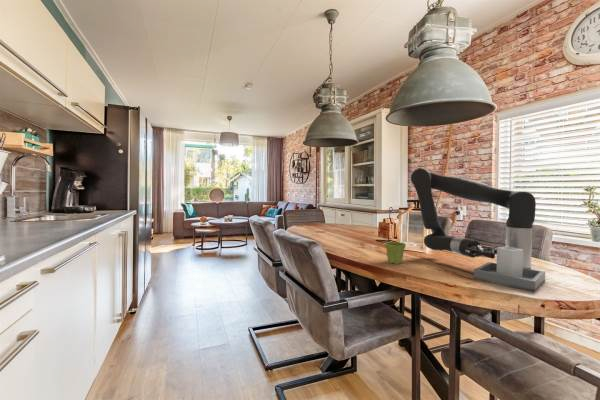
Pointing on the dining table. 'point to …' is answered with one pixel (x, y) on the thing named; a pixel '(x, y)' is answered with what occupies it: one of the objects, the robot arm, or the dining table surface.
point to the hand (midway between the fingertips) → (502, 255)
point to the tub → (510, 261)
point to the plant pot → (395, 251)
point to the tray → (510, 277)
